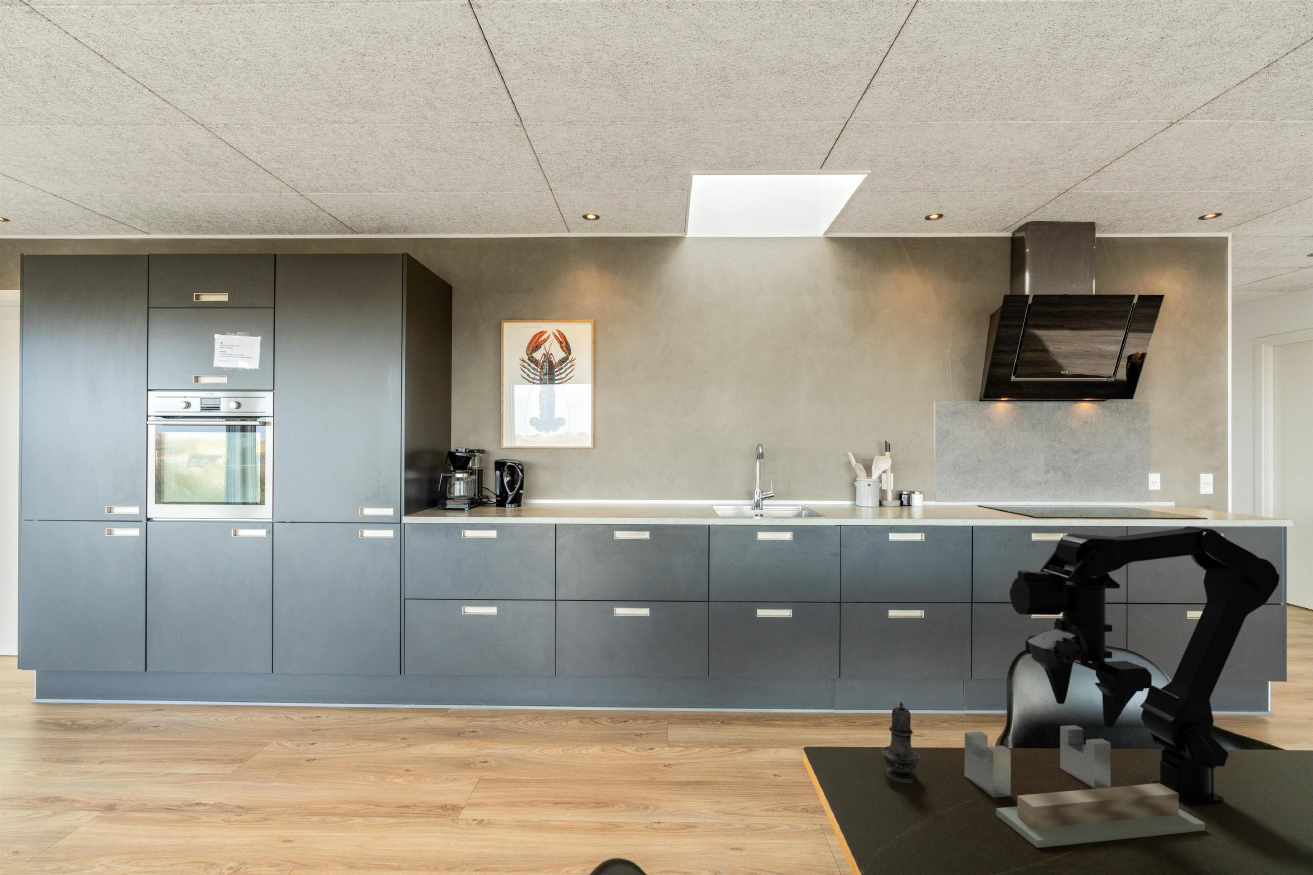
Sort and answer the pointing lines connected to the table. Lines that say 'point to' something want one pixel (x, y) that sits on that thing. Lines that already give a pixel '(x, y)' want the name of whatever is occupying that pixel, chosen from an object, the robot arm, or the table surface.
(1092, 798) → the birch rail
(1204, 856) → the table surface
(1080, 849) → the table surface
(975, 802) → the table surface
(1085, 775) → the steel stands
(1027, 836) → the sage board
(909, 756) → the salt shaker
